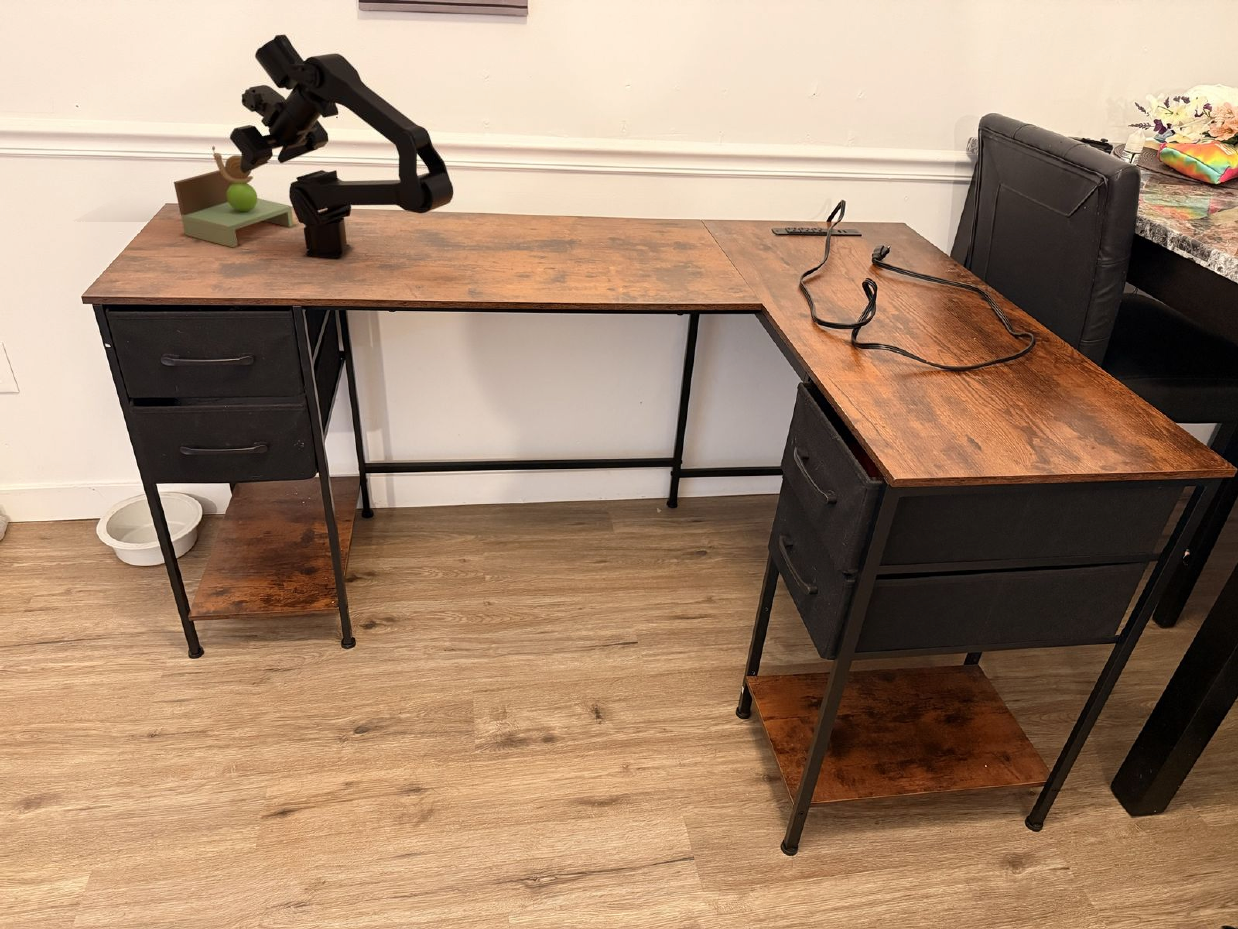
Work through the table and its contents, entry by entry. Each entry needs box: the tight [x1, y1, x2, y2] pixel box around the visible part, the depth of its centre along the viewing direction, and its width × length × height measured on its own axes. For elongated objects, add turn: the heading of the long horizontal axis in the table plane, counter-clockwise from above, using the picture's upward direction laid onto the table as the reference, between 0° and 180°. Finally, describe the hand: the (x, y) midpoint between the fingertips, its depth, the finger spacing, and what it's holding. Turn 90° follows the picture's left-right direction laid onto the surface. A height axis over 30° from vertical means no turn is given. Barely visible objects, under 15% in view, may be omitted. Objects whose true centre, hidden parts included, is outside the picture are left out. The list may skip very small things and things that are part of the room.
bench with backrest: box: [173, 169, 295, 248], centre depth 164 cm, size 12×16×10 cm
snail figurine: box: [211, 145, 258, 212], centre depth 161 cm, size 5×6×12 cm
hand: (261, 165), depth 157 cm, fingers open, 9 cm apart
